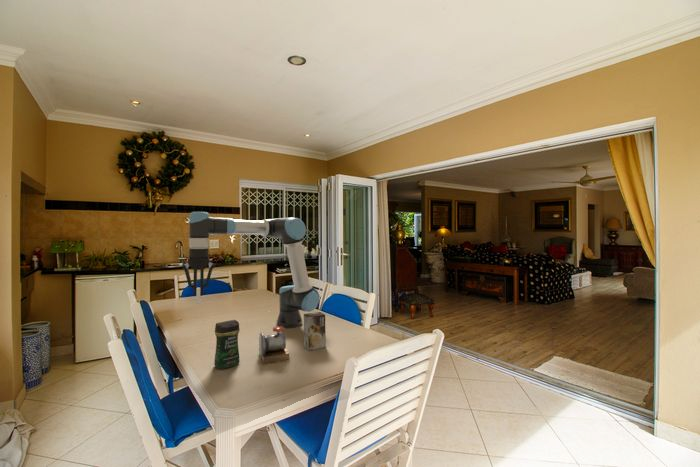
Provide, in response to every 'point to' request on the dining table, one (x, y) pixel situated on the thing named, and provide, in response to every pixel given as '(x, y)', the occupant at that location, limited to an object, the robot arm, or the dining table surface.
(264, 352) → the valve stub
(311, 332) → the coffee box
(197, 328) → the dining table surface
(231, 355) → the coffee jar
